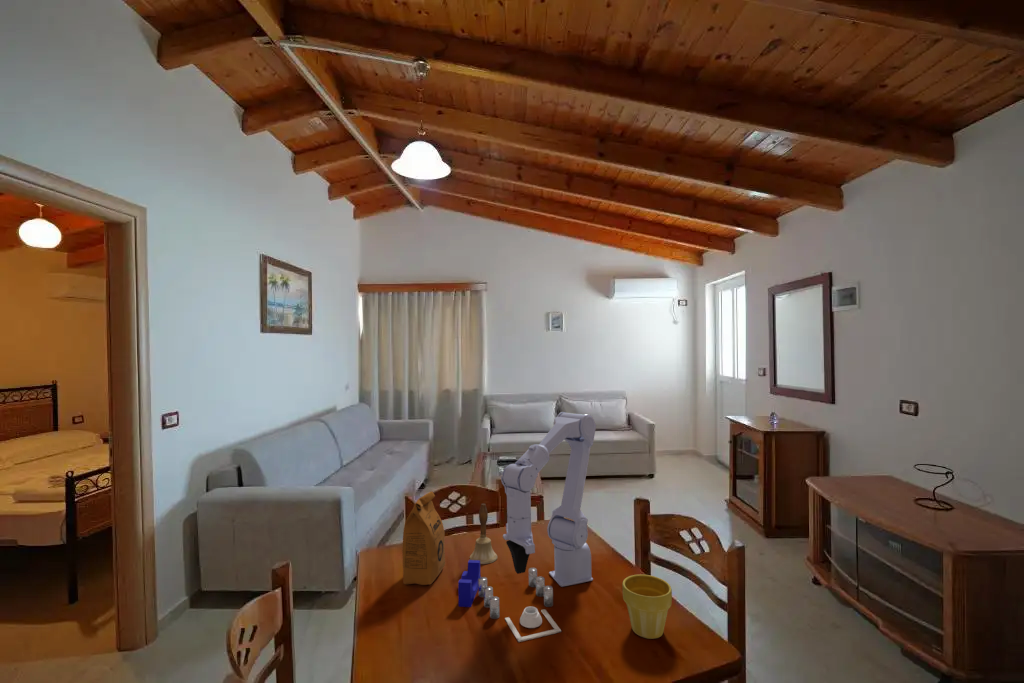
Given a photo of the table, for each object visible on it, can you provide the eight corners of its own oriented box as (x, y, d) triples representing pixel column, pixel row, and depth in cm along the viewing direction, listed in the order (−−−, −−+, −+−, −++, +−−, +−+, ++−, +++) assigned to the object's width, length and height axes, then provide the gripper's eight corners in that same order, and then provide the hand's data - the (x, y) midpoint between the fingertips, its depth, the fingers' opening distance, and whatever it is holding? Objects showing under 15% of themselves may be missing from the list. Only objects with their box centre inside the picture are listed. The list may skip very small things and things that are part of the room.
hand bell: (481, 549, 145) (480, 498, 145) (503, 556, 140) (502, 502, 141) (463, 560, 139) (462, 505, 139) (485, 567, 134) (484, 511, 134)
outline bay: (544, 610, 111) (544, 609, 111) (561, 631, 103) (561, 630, 103) (504, 619, 108) (504, 617, 108) (518, 642, 99) (518, 640, 99)
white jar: (540, 616, 109) (519, 617, 109) (540, 603, 109) (519, 604, 109) (543, 629, 104) (520, 630, 104) (542, 616, 104) (520, 616, 104)
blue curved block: (464, 582, 126) (463, 559, 126) (480, 582, 125) (480, 560, 125) (452, 606, 114) (452, 582, 114) (470, 607, 113) (470, 582, 113)
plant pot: (652, 612, 110) (651, 570, 110) (683, 637, 100) (682, 591, 100) (614, 622, 106) (613, 578, 106) (642, 649, 96) (641, 601, 97)
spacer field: (535, 582, 125) (535, 567, 125) (554, 605, 113) (554, 589, 113) (477, 593, 119) (477, 577, 119) (491, 619, 108) (491, 602, 108)
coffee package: (451, 568, 133) (449, 490, 134) (431, 590, 121) (430, 505, 122) (419, 564, 136) (418, 488, 136) (397, 585, 124) (396, 502, 124)
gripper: (494, 507, 119) (495, 561, 118) (513, 528, 105) (515, 589, 105) (520, 504, 121) (521, 557, 121) (542, 523, 107) (544, 583, 107)
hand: (520, 571), depth 113 cm, fingers closed
